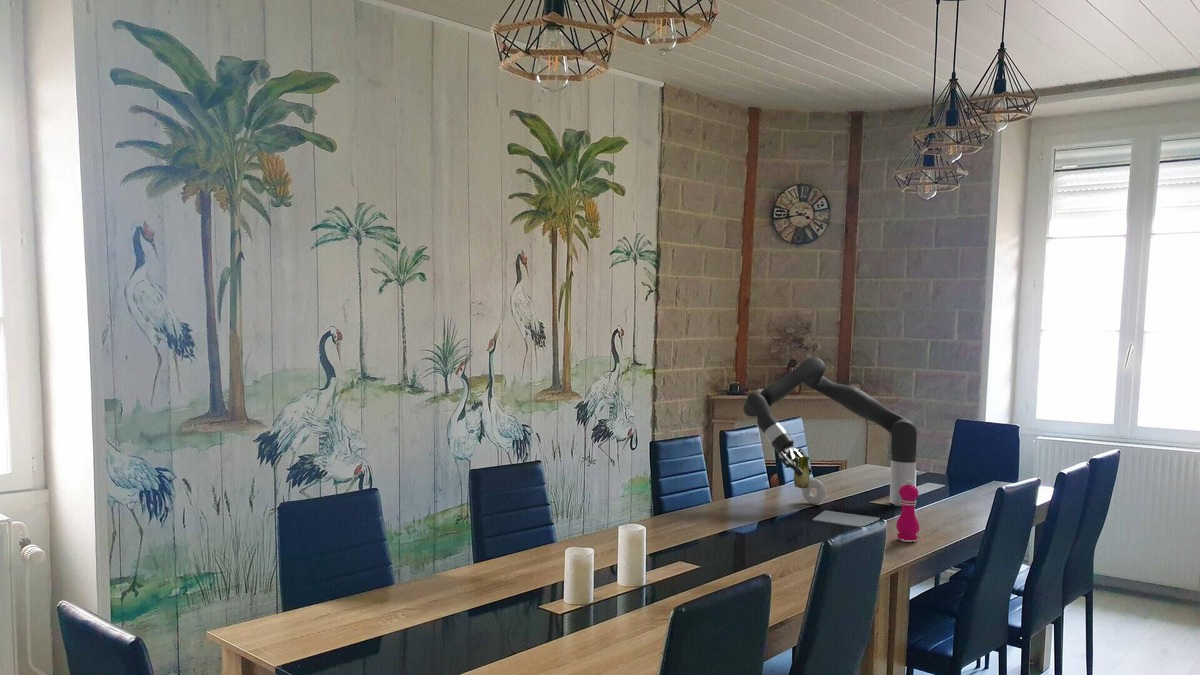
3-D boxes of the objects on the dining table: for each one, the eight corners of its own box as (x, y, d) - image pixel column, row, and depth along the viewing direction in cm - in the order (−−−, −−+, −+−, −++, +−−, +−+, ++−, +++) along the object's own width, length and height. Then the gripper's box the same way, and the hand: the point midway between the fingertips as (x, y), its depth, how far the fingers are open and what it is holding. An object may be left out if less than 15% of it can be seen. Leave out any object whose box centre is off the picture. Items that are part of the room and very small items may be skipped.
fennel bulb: (793, 488, 311) (794, 456, 311) (793, 486, 316) (793, 454, 316) (809, 489, 310) (810, 457, 310) (809, 486, 315) (809, 455, 314)
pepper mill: (919, 538, 280) (921, 479, 279) (918, 544, 274) (920, 483, 273) (896, 536, 283) (898, 477, 282) (894, 541, 277) (896, 481, 276)
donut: (827, 505, 325) (828, 480, 324) (823, 507, 322) (823, 481, 322) (804, 501, 332) (805, 476, 331) (800, 502, 329) (800, 477, 329)
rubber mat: (825, 511, 316) (825, 510, 316) (879, 519, 305) (879, 517, 305) (812, 520, 302) (812, 519, 302) (869, 529, 292) (869, 527, 292)
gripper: (783, 442, 327) (810, 477, 318) (761, 446, 317) (788, 482, 308) (795, 430, 323) (822, 465, 314) (773, 433, 313) (801, 470, 304)
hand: (805, 473), depth 311 cm, fingers closed on fennel bulb, 5 cm apart
